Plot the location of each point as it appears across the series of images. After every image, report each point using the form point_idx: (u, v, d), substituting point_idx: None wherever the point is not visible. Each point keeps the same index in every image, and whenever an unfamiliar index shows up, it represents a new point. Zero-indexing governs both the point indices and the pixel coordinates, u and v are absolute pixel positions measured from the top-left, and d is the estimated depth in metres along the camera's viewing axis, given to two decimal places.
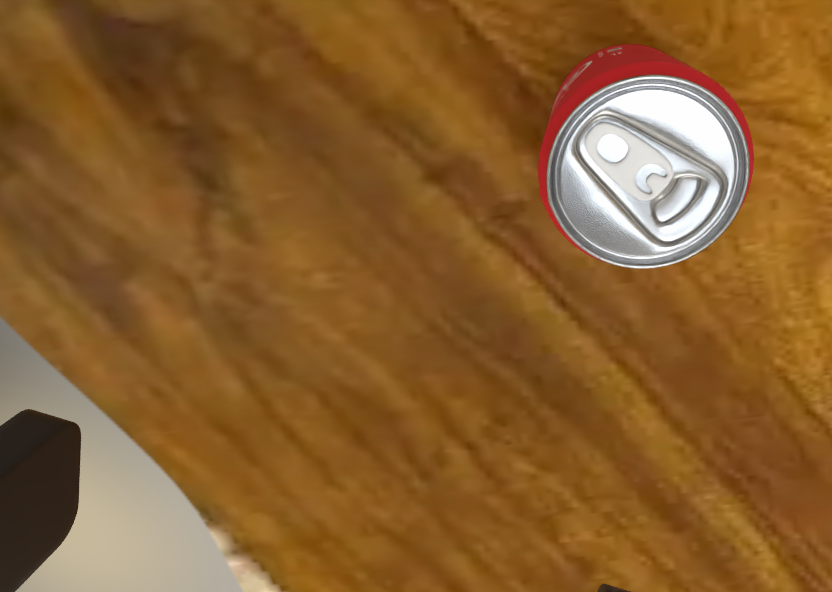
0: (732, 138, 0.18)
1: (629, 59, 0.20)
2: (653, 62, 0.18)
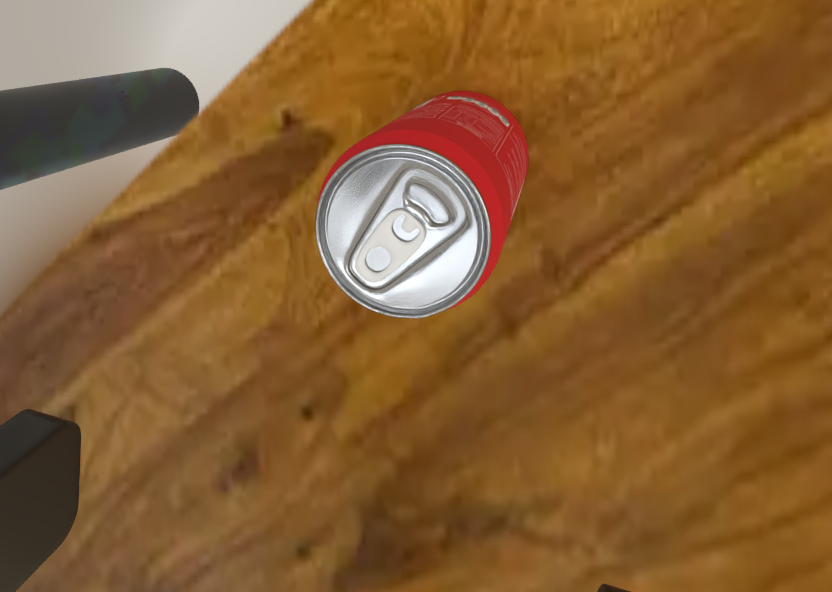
0: (373, 156, 0.20)
1: None
2: None
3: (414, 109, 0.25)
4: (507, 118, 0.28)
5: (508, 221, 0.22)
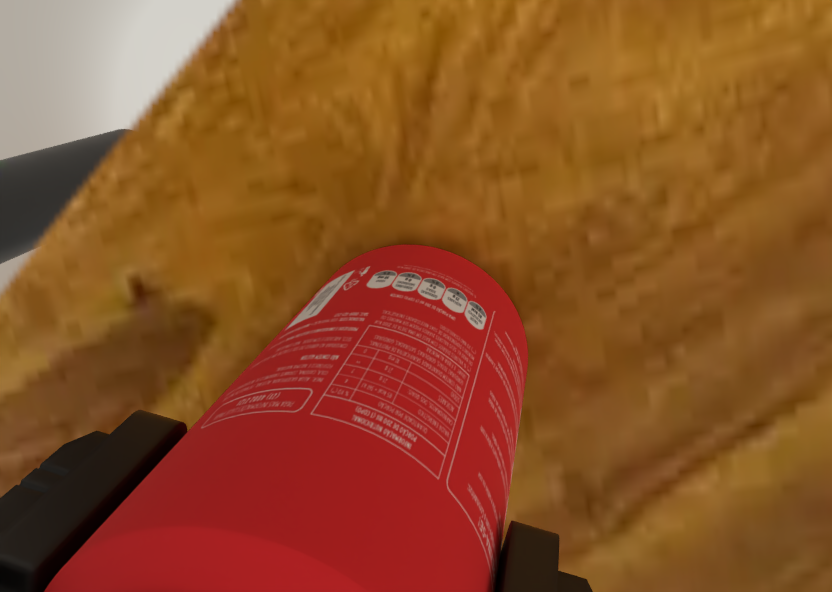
0: None
1: None
2: None
3: (296, 329, 0.13)
4: (483, 300, 0.15)
5: None
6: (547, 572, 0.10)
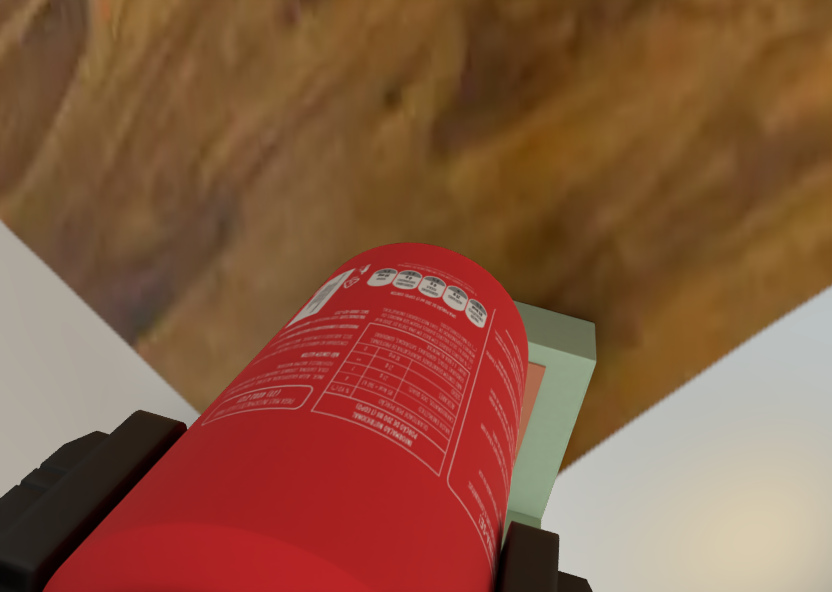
0: None
1: None
2: None
3: (297, 327, 0.13)
4: (483, 298, 0.15)
5: None
6: (547, 572, 0.10)
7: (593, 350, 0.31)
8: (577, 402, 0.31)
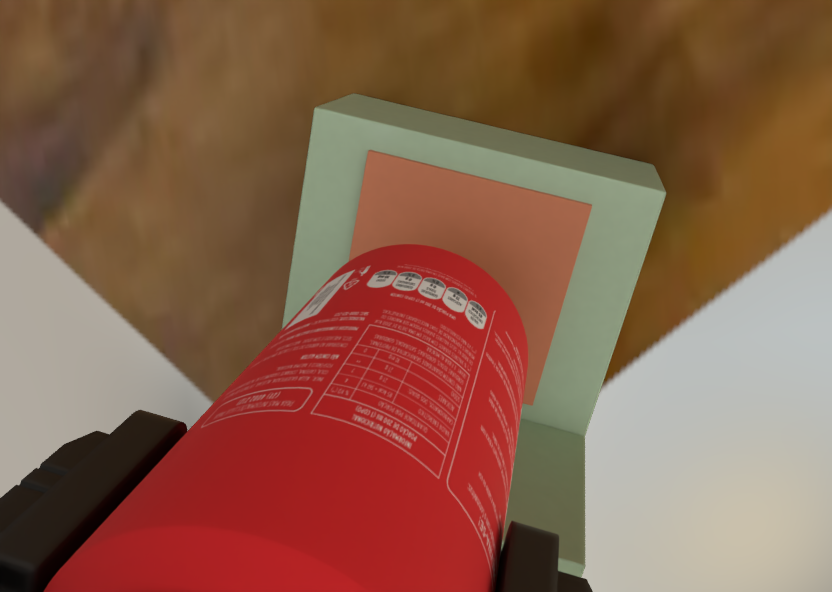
0: None
1: None
2: None
3: (296, 329, 0.13)
4: (483, 300, 0.15)
5: None
6: (547, 572, 0.10)
7: (659, 183, 0.21)
8: (637, 258, 0.21)
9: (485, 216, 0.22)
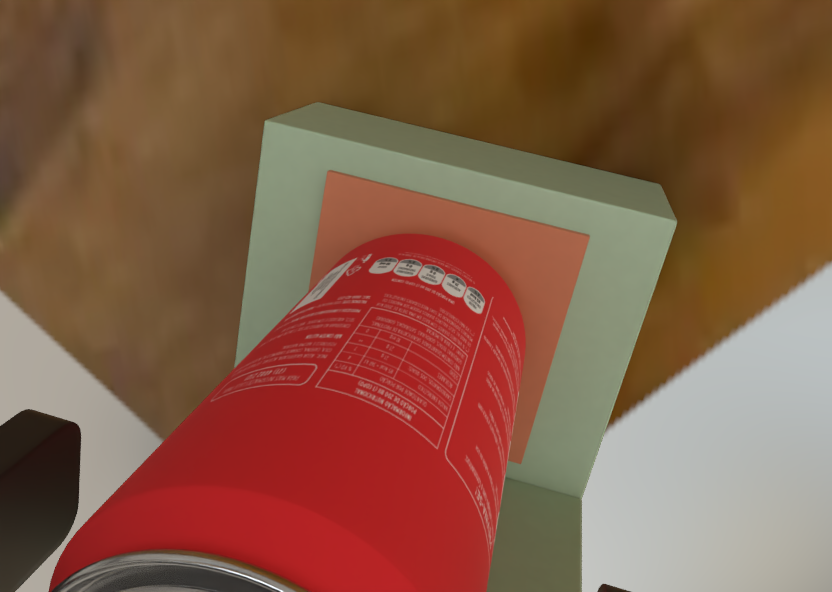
0: (125, 566, 0.08)
1: None
2: None
3: (301, 312, 0.14)
4: (481, 287, 0.16)
5: None
6: None
7: (668, 209, 0.18)
8: (643, 297, 0.18)
9: (465, 247, 0.18)
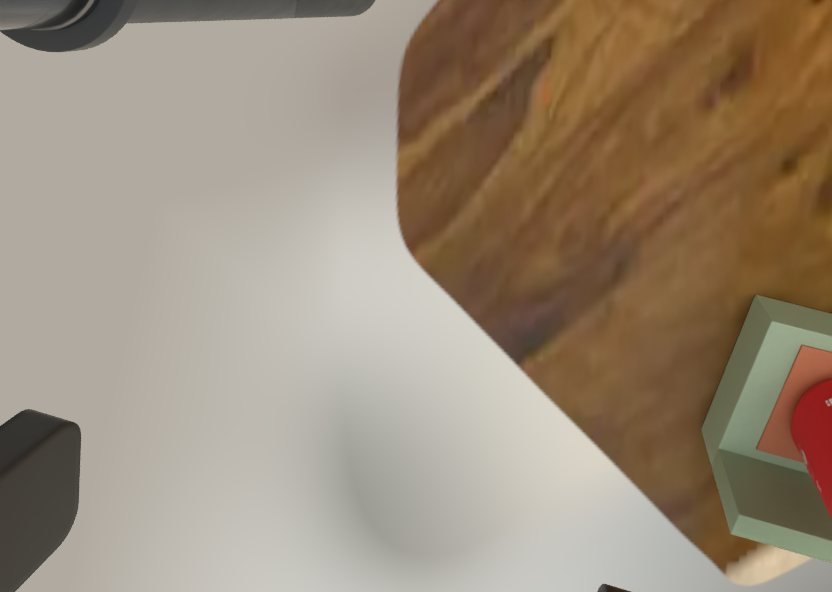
0: None
1: None
2: None
3: None
4: None
5: None
6: None
7: None
8: None
9: None
